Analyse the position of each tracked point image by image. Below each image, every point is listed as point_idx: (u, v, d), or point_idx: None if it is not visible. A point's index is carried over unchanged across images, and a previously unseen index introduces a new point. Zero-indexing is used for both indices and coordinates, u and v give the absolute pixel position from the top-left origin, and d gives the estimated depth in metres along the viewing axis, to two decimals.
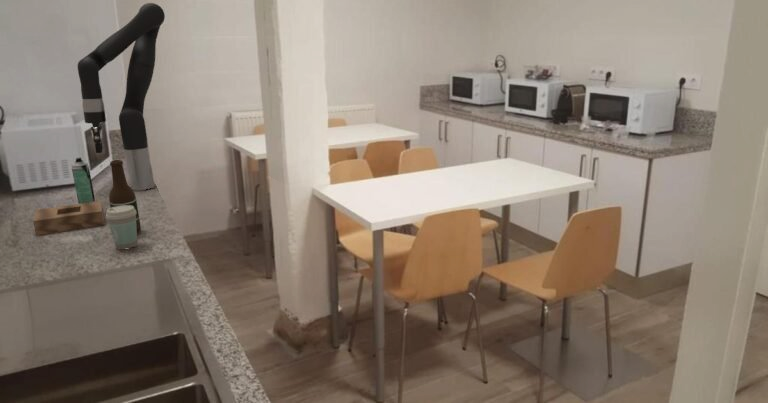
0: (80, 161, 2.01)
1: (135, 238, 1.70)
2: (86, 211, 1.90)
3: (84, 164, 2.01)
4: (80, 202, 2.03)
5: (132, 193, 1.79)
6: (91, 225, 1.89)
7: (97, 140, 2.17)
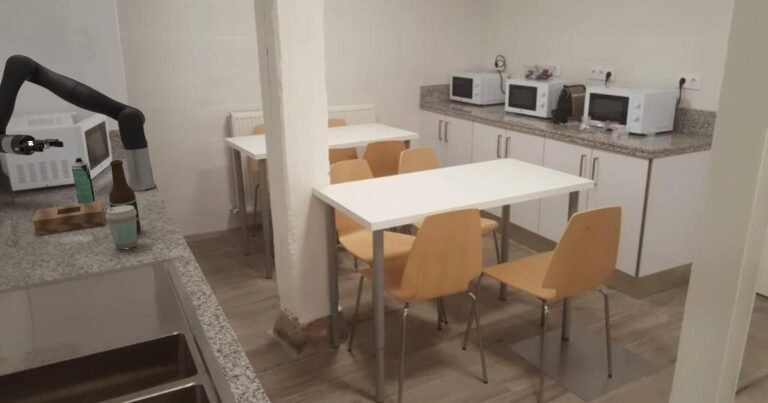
0: (80, 161, 2.01)
1: (135, 238, 1.70)
2: (86, 211, 1.90)
3: (84, 164, 2.01)
4: (80, 202, 2.03)
5: (132, 193, 1.79)
6: (91, 225, 1.89)
7: (24, 149, 1.99)
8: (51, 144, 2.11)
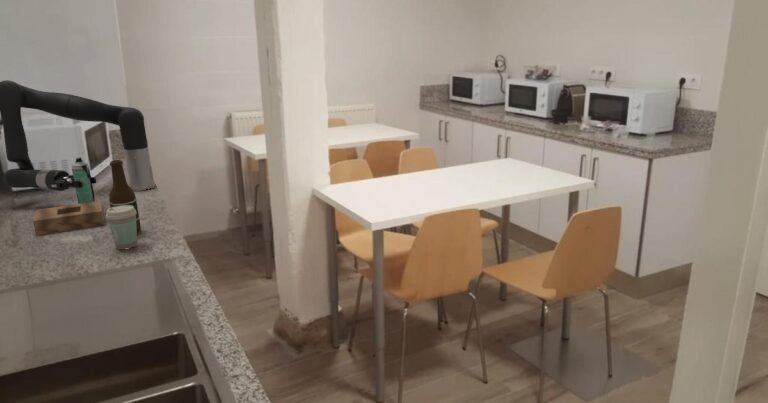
0: (80, 161, 2.01)
1: (135, 238, 1.70)
2: (86, 211, 1.90)
3: (84, 164, 2.01)
4: (80, 202, 2.03)
5: (132, 193, 1.79)
6: (91, 225, 1.89)
7: (64, 185, 1.99)
8: None
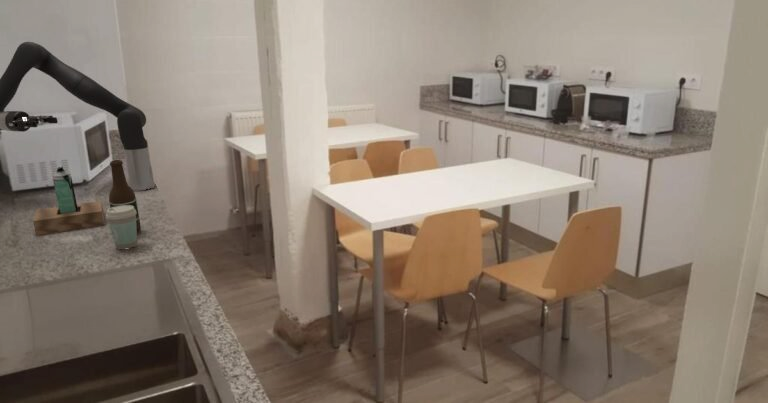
0: (62, 171, 1.87)
1: (135, 238, 1.70)
2: (86, 211, 1.90)
3: (66, 174, 1.87)
4: None
5: (132, 193, 1.79)
6: (91, 225, 1.89)
7: (18, 124, 2.00)
8: (45, 121, 2.13)
